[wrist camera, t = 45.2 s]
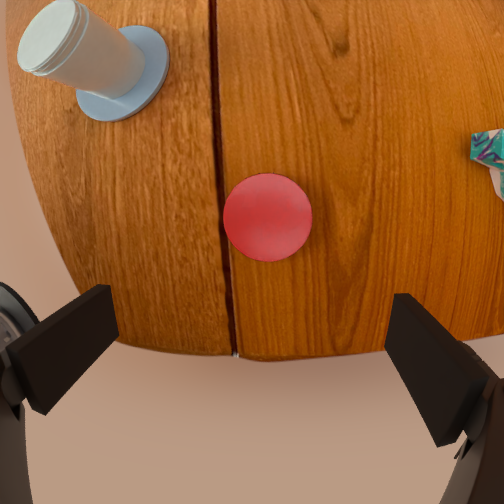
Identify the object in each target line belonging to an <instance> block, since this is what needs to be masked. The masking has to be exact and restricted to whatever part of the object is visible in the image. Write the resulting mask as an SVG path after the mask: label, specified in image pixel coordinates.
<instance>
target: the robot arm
mask: <svg viewBox="0 0 504 504" xmlns="http://www.w3.org/2000/svg"><path fill="white" fill-rule="evenodd" d="M118 336H119V332H118V327H117V322H116V316H115V311H114V305H113V299H112V293H111V286H110V285H101V284H97V285H96V286H94V287H93V288H91V289H90V290H88V291H86V292H85V293H83V294H82V295H80V296H79V297H77V298H76V299H74V300H73V301H71V302H70V303H68V304H67V305H65V306H64V307H62V308H61V309H59V310H58V311H56V312H55V313H53V314H52V315H50V316H49V317H47V318H46V319H44V320H43V321H41V322H40V323H38V324H37V325H36V326H34V327H33V328H31V329H30V330H28V331H27V332H24V330H23V329H22V327H21V326H20V325H19V323H18V322H17V321H16V320H15V319H14V318H13V316H12V315H11V314H10V313H8V312H7V311H6V310H5V309H3V308H1V307H0V504H33V501H32V495H31V489H30V483H29V475H28V467H27V456H26V440H25V408H24V405H23V404H22V401H23V400H24V399H25V398H27V400H28V402H29V404H30V406H31V408H32V410H34V411H36V412H38V413H40V414H43V415H45V416H46V415H47V413H48V412H49V411H50V410H51V409H52V408H53V407H54V405H55V404H56V403H57V402H58V401H59V400H60V399H61V397H63V395H64V394H65V393H66V392H67V391H68V390H69V389H70V388H71V387H72V386H73V384H74V383H75V382H76V381H77V380H78V379H79V378H80V377H81V376H82V375H83V373H84V372H85V371H86V370H87V369H88V368H89V367H90V366H91V365H92V364H93V363H94V362H95V361H96V360H97V359H98V357H99V356H100V355H101V354H102V353H103V352H104V351H105V350H106V349H107V348H108V347H109V346H110V345H111V344H112V343H113V342H114V341H115V340H116V338H117V337H118ZM384 348H385V349H386V351H387V353H388V355H389V356H390V358H391V360H392V362H393V363H394V365H395V367H396V369H397V371H398V372H399V374H400V376H401V378H402V380H403V382H404V383H405V385H406V387H407V389H408V391H409V393H410V395H411V397H412V398H413V400H414V402H415V404H416V406H417V408H418V410H419V412H420V414H421V416H422V418H423V420H424V422H425V423H426V426H427V428H428V430H429V432H430V434H431V436H432V438H433V440H434V442H435V444H436V446H437V447H441V446H445V445H448V444H452V443H455V442H456V441H457V439H458V437H459V436H460V434H461V432H462V430H464V431H465V433H466V435H467V438H466V440H465V441H464V443H463V445H462V446H461V448H460V449H459V451H458V452H457V454H456V455H455V457H454V459H457V457H458V456H459V457H458V460H457V463H456V466H455V468H454V471H453V473H452V476H451V479H450V481H449V483H448V486H447V488H446V490H445V492H444V495H443V497H442V499H441V501H440V503H439V504H504V378H502V379H500V378H499V377H498V376H497V375H496V374H495V373H494V372H493V370H492V369H491V368H490V367H489V366H488V365H487V364H486V363H485V362H484V361H482V359H481V358H480V357H479V356H478V355H476V352H475V351H474V350H473V349H472V348H471V347H470V346H468V345H467V344H465V343H463V342H461V341H460V340H458V341H457V340H456V339H455V338H454V337H453V336H452V335H451V334H450V333H449V332H448V331H447V330H446V329H445V328H444V327H443V326H442V325H441V324H440V323H439V322H438V321H437V320H436V319H435V318H434V317H433V316H432V315H431V314H430V313H429V312H428V311H427V310H426V309H425V308H424V307H423V306H422V305H421V304H420V303H419V302H418V301H417V300H416V299H415V298H413V297H412V296H411V295H410V294H409V293H400V294H394V299H393V305H392V310H391V316H390V321H389V326H388V331H387V336H386V340H385V345H384Z"/></svg>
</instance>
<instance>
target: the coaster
mask: <svg viewBox="0 0 504 504" xmlns="http://www.w3.org/2000/svg"><path fill="white" fill-rule="evenodd" d="M118 30H119V31H120V32H121V33H123V34H124V35H125V36H126V37H128V38H129V39H130V40H131V41H133V42H134V43H135V44H136V45H137V46H139V47H140V48H141V49H142V51H143V53H144V55H145V68H144V71H143V74H142V76H141V78H140V79H139V81H138V82H137V84H136V85H135V86H134V87H133V88H132V89H131V90H130V91H129V92H127V93H126V94H125V95H123V96H121V97H118V98H115V99H103V98H100V97H98V96H95V95H92V94H90V93H87V92H84V91H81V90H78V89H76V96H77V100H78V103H79V105H80V107H81V109H82V110H83V112H84V113H85V114H87V115H88V116H89V117H91V118H93V119H95V120H99V121H103V122H115V121H120V120H123V119H126V118H128V117H130V116H132V115H134V114H136V113H137V112H139V111H140V110H141V109H143V108H144V107H145V106H146V105H147V104H148V103H149V102H150V101H151V100H152V99H153V98H154V97H155V95H156V94H157V93H158V91H159V90H160V88H161V86H162V84H163V83H164V80H165V78H166V76H167V72H168V69H169V62H170V55H169V49H168V46H167V44H166V42H165V40H164V39H163V38H162V36H161V35H160V34H159V33H158V32H156V31H155V30H153V29H152V28H149V27H146V26H139V25H134V26H127V27H123V28H120V29H118Z"/></svg>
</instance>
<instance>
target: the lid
mask: <svg viewBox="0 0 504 504" xmlns="http://www.w3.org/2000/svg"><path fill="white" fill-rule="evenodd" d="M307 197H308V196H307V195H306V194H305V193H304V191H303V190H302V189H301V188H300V187H299V185H297V184H296V183H295V182H293V181H292V180H290V179H288V177H284V176H281V175H278V174H274V173H273V174H271V173H263V174H261V173H258V174H257V175H254V176H251V177H249V178H245V180H243V181H242V182H240V183H239V184H238V185H237V186H235V187H234V189H233V190H232V192H231V193H230V195H229V196H228V198H227V201H226V203H225V207H224V213H223V221H224V227H225V231H226V234H227V236H228V238H229V240H230V241H231V243H232V244H233V245H234V246H235V248H236V249H238V250H239V251H240V252H241V253H243V254H244V255H246V256H248V257H249V258H252V259H255V260H259V261H266V262H270V261H278V260H282V259H285V258H287V257H289V256H291V255H292V254H294V253H295V252H296V251H298V250H299V249H300V248H301V247H302V245H303V244H304V243H305V241H306V240H307V238H308V236H309V233H310V231H311V226H312V209H311V205H310V202H309V200H308V198H307Z"/></svg>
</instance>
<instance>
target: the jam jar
mask: <svg viewBox="0 0 504 504" xmlns="http://www.w3.org/2000/svg"><path fill="white" fill-rule="evenodd" d="M17 60H18V64H19V65H20V67H21V68H22V69H23V70H24V71H27V72H31V73H32V74H34V75H36V76H39V77H42V78H45V79H49V80H52V81H55V82H58V83H61V84H64V85H67V86H70V87H73V88H76V89H78V90H81V91H84V92H87V93H90V94H92V95H95V96H98V97H100V98H103V99H115V98H118V97H121V96H123V95H125V94H126V93H127V92H129V91H130V90H131V89H132V88H133V87H134V86H135V85H136V84H137V82H138V81H139V79H140V78H141V76H142V74H143V71H144V68H145V55H144V53H143V51H142V49H141V48H140V47H139V46H137V45H136V44H135V43H134V42H133V41H131V40H130V39H129V38H128V37H126V36H125V35H124V34H123V33H121V32H120V31H119V30H117V29H116V28H115V27H114V26H112V25H111V24H110V23H108V22H107V21H106V20H104V19H103V18H102V17H100V16H99V15H98V14H96V13H95V12H94V11H92V10H91V9H89V8H88V7H87V6H85V5H84V4H81V3H79V2H77V1H76V0H56V1H54V2H52V3H50V4H49V5H47V6H46V7H45V8H44V9H42V10H41V11H40V12H39V13H38V14H37V15H36V16H35V18H34V19H33V20H32V21H31V23H30V24H29V25H28V27H27V29H26V30H25V32H24V34H23V36H22V38H21V41H20V44H19V47H18V52H17Z"/></svg>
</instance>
